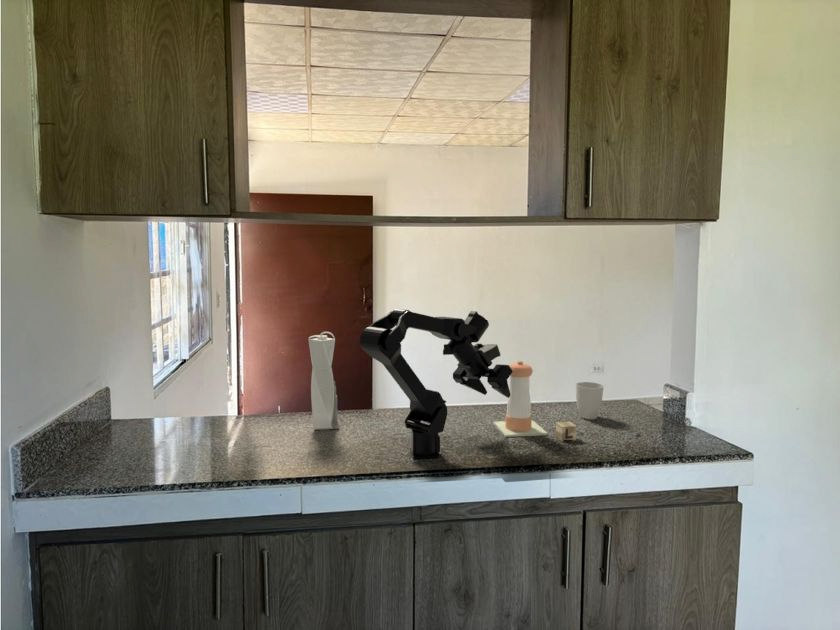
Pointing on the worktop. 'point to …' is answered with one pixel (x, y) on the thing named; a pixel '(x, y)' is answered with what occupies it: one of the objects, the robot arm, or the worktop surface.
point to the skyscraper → (323, 383)
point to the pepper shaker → (519, 398)
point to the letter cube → (565, 431)
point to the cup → (589, 399)
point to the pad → (534, 431)
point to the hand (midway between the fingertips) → (497, 394)
